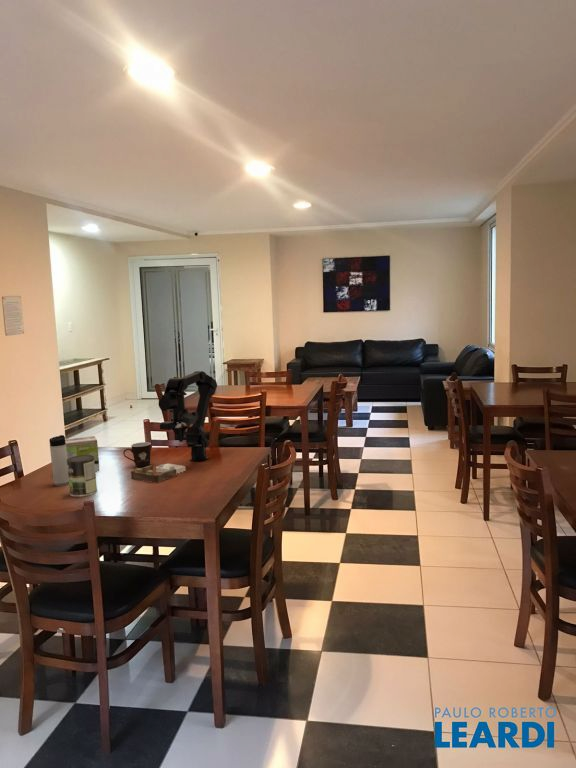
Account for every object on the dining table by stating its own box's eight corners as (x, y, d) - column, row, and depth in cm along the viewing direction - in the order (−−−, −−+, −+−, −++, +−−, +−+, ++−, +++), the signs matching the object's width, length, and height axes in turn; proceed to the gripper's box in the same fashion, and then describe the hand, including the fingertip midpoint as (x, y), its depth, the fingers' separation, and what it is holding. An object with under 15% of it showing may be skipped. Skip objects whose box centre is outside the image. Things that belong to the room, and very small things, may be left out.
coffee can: (72, 498, 236) (69, 462, 234) (68, 492, 244) (64, 457, 243) (100, 493, 240) (96, 458, 239) (94, 487, 249) (91, 453, 248)
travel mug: (73, 481, 259) (68, 435, 257) (63, 486, 253) (58, 438, 251) (61, 481, 261) (56, 434, 259) (50, 485, 255) (45, 438, 253)
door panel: (168, 469, 273) (167, 461, 273) (185, 472, 267) (184, 464, 266) (156, 473, 268) (155, 465, 267) (173, 476, 261) (172, 467, 261)
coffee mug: (155, 463, 283) (153, 441, 282) (149, 468, 275) (147, 446, 273) (130, 463, 284) (128, 442, 283) (123, 469, 276) (121, 447, 274)
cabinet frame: (151, 471, 268) (150, 462, 268) (176, 476, 259) (175, 465, 259) (131, 478, 259) (130, 468, 259) (156, 483, 250) (155, 472, 250)
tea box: (64, 477, 268) (61, 443, 266) (62, 471, 277) (59, 439, 275) (100, 471, 274) (97, 439, 272) (97, 466, 283) (94, 435, 281)
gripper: (175, 411, 257) (178, 448, 259) (206, 404, 272) (209, 438, 274) (157, 410, 264) (160, 445, 266) (188, 403, 279) (191, 436, 281)
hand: (181, 441), depth 272 cm, fingers closed
